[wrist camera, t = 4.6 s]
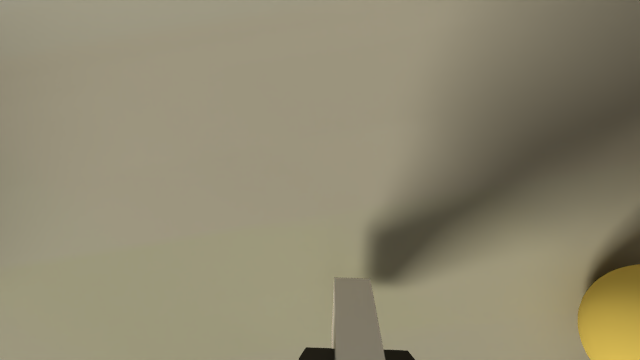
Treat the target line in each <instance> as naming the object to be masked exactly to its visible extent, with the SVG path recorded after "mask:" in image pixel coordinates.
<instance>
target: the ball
mask: <svg viewBox="0 0 640 360" xmlns="http://www.w3.org/2000/svg"><path fill="white" fill-rule="evenodd" d="M578 330H579V335H580V338H581V342H582V344H583V347H584V349H585V351H586V353H587V355H588V357H589V358H590V360H640V264H637V265H630V266H626V267H622V268H618V269H616V270H613V271H611V272H609V273H607V274H605V275H604V276H602V277H600V278H599V279H598V280H596V281H595V282H594V283H593V284H592V285H591V286H590V288H589V289H588V290H587V291H586V293H585V295H584V296H583V298H582V301H581V304H580V307H579V311H578Z"/></svg>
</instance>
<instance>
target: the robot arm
mask: <svg viewBox="0 0 640 360" xmlns="http://www.w3.org/2000/svg"><path fill="white" fill-rule="evenodd" d="M299 360H415V359H414V358H413V357H412V355H411V354H410V353H409V352H408V351H402V350H383V345H382V339H381V334H380V329H379V323H378V318H377V313H376V307H375V302H374V297H373V291H372V286H371V281H370V279H363V278H338V277H334V295H333V316H332V349H331V348H308V347H306V348H305V350H304V351H303V353H302V354H301V356H300V358H299Z"/></svg>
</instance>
